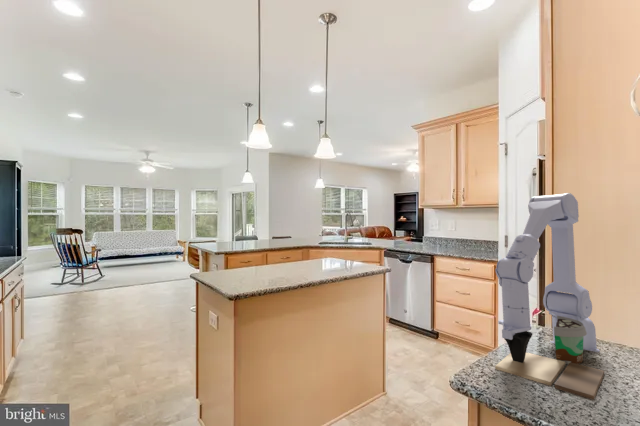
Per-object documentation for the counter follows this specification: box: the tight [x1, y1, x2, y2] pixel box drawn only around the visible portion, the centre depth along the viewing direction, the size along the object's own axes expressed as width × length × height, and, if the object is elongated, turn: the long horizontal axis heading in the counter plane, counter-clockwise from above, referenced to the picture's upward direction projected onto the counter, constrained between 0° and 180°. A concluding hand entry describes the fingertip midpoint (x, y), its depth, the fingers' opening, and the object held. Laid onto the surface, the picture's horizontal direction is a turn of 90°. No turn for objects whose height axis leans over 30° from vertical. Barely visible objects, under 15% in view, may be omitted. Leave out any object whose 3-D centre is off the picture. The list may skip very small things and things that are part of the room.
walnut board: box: [554, 362, 605, 401], centre depth 68 cm, size 15×6×2 cm, turn 131°
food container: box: [554, 316, 587, 365], centre depth 79 cm, size 12×6×10 cm, turn 139°
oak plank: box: [494, 351, 566, 386], centre depth 75 cm, size 11×14×2 cm
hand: (518, 361), depth 77 cm, fingers closed, pressing on oak plank
